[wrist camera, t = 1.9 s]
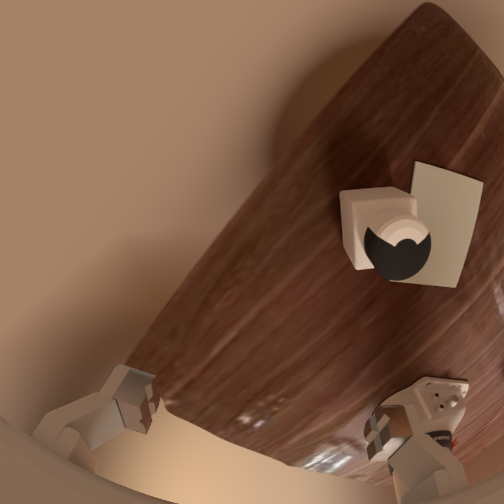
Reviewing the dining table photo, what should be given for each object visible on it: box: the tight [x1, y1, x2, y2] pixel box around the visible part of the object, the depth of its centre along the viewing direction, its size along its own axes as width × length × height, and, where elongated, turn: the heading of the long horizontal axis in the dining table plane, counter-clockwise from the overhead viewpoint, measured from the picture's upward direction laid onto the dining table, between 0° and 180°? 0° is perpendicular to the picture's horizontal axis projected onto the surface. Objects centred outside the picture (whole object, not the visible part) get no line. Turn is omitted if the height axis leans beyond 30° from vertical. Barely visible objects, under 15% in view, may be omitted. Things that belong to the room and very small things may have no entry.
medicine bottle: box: [339, 187, 431, 281], centre depth 27 cm, size 7×7×12 cm
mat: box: [390, 161, 483, 288], centre depth 31 cm, size 12×16×1 cm
